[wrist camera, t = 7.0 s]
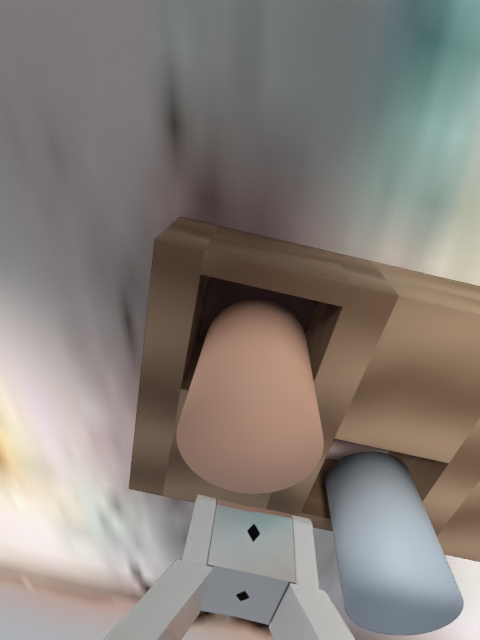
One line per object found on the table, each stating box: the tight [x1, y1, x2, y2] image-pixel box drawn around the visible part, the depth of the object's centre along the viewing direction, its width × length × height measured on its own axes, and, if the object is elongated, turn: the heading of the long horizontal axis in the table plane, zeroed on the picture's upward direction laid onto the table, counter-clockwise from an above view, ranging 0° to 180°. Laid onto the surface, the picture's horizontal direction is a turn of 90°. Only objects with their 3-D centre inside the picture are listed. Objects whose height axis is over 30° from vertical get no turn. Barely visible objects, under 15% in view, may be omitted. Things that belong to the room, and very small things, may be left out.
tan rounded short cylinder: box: [176, 300, 324, 494], centre depth 14 cm, size 5×5×6 cm
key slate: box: [325, 452, 463, 635], centre depth 17 cm, size 5×5×6 cm
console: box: [129, 217, 480, 562], centre depth 20 cm, size 15×26×4 cm, turn 78°
